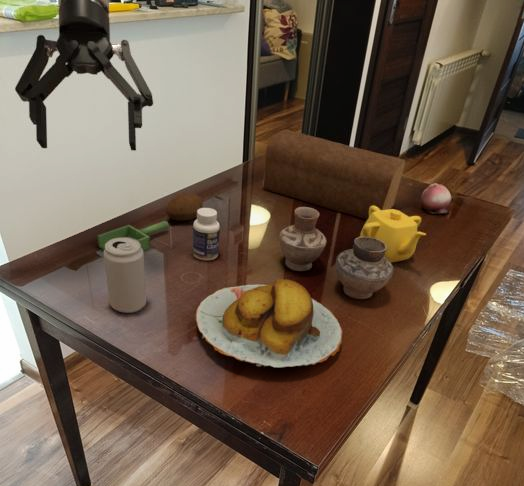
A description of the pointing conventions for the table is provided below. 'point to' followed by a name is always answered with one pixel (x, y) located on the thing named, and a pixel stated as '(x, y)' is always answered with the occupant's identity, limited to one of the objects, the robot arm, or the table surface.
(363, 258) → the pottery
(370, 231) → the teapot
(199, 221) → the pill bottle
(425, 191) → the pink peach
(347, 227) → the table surface
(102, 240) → the scoop
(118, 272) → the beverage can
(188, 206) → the potato
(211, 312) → the food on plate
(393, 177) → the bread
